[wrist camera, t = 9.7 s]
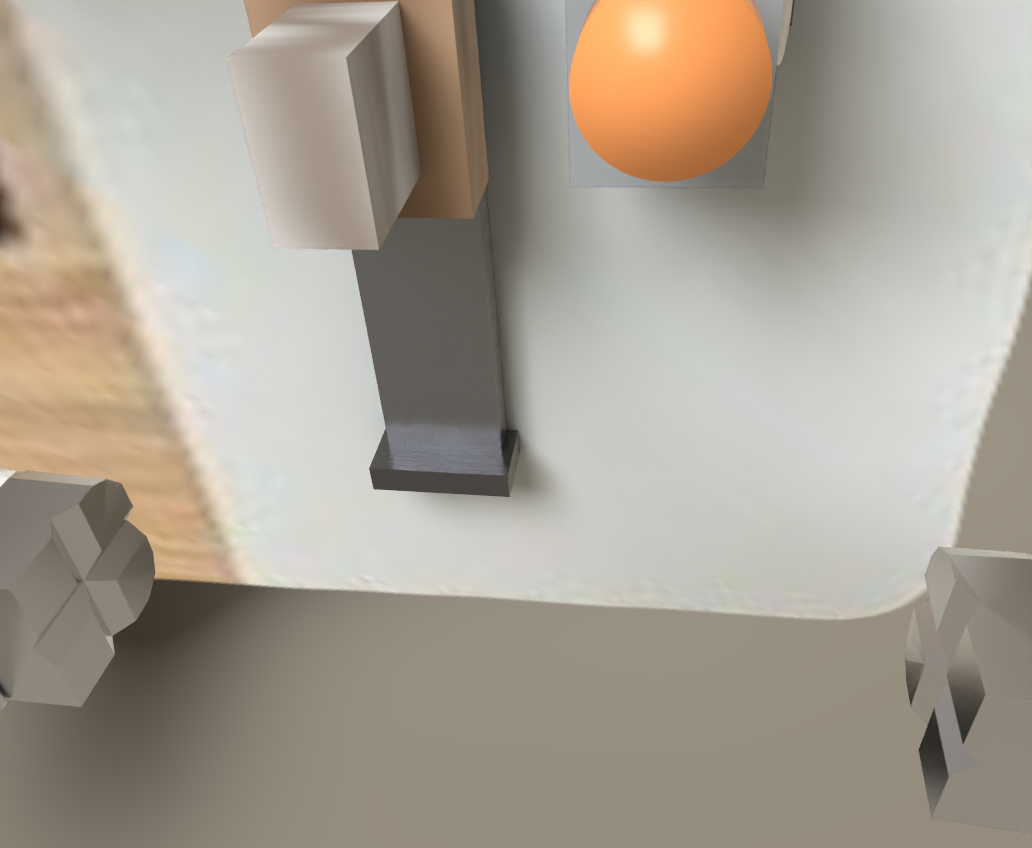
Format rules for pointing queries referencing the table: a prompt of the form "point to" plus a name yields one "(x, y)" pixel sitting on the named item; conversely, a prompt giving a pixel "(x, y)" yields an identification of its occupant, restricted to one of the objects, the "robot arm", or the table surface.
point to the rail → (437, 358)
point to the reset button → (670, 84)
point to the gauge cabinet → (734, 173)
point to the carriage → (361, 116)
